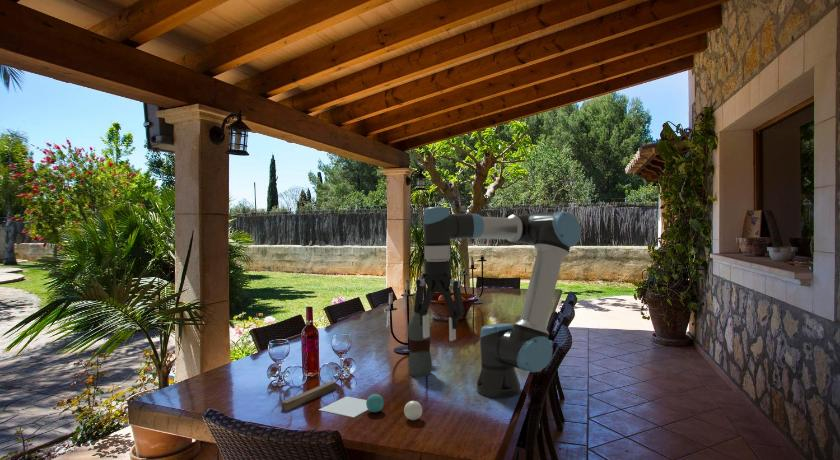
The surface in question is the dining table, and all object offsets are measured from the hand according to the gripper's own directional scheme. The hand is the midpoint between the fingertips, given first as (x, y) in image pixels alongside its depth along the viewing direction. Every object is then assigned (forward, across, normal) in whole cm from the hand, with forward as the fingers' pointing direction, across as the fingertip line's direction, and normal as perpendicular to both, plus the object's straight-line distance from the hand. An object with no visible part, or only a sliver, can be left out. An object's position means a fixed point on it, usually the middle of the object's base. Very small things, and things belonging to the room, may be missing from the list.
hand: (439, 338), depth 147 cm
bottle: (+25, +32, -42) cm, 58 cm away
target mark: (+25, +34, 0) cm, 42 cm away
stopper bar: (+25, +50, 0) cm, 56 cm away
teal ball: (+23, +24, 0) cm, 33 cm away
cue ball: (+23, +10, 0) cm, 24 cm away
